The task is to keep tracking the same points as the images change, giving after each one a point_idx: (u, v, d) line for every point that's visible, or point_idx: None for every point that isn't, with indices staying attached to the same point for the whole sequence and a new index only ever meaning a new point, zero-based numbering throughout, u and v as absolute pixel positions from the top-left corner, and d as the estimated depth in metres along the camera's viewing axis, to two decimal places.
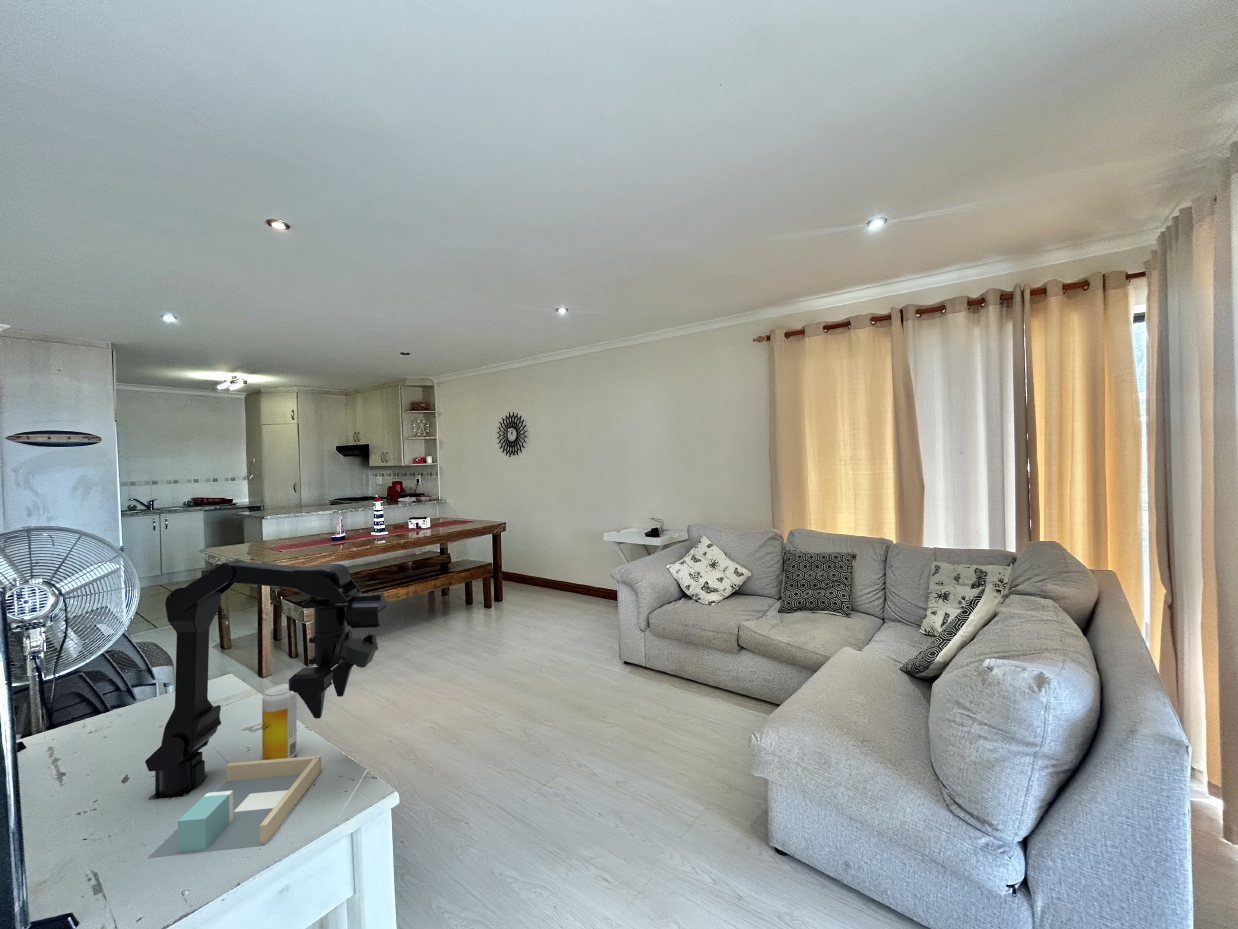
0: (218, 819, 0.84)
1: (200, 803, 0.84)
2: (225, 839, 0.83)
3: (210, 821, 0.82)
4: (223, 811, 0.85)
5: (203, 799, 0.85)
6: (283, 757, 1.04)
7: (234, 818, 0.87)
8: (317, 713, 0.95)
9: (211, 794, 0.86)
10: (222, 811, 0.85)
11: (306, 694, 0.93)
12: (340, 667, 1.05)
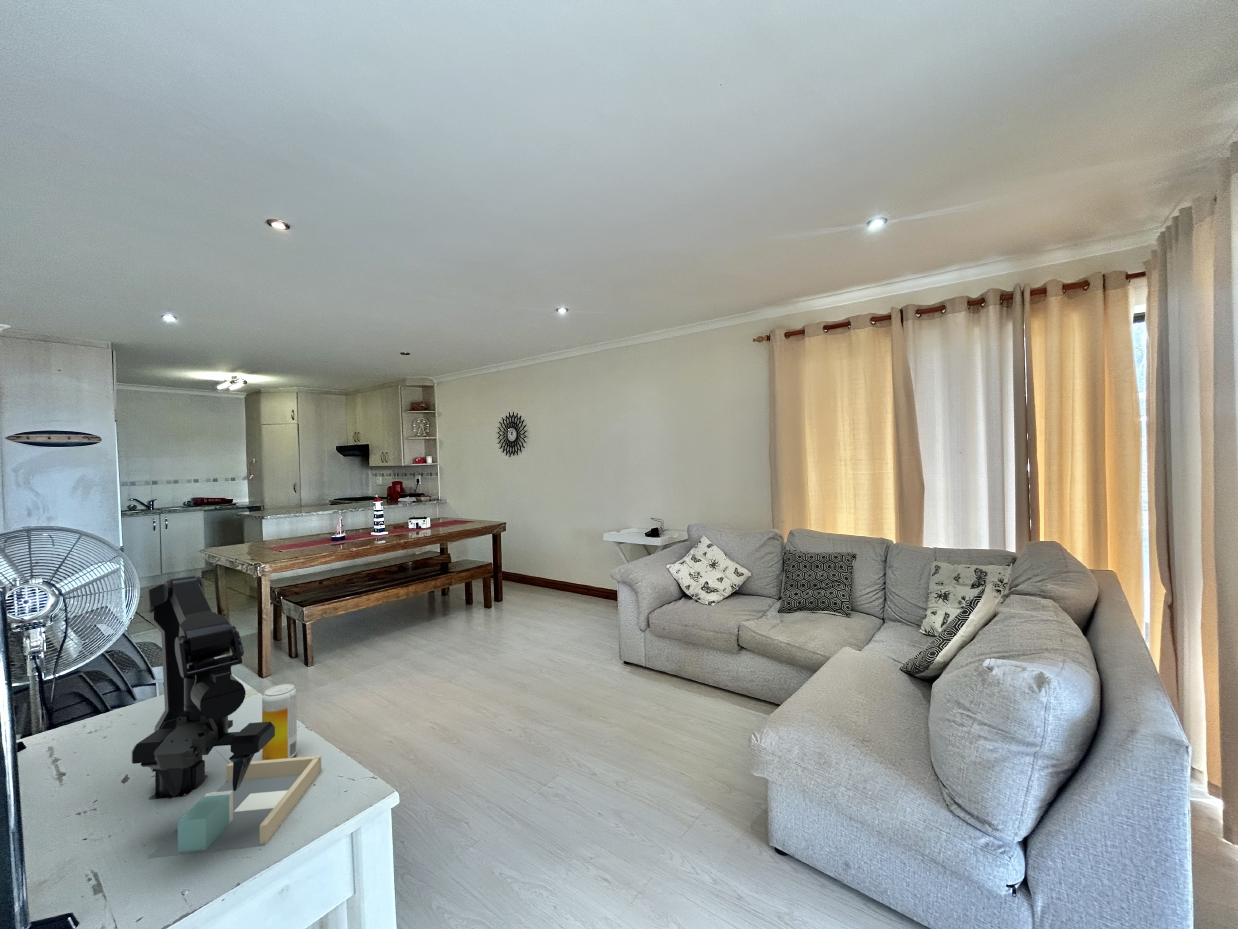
0: (218, 819, 0.84)
1: (200, 803, 0.84)
2: (225, 839, 0.83)
3: (210, 821, 0.82)
4: (223, 811, 0.85)
5: (203, 799, 0.85)
6: (283, 757, 1.04)
7: (234, 818, 0.87)
8: None
9: (211, 794, 0.86)
10: (222, 811, 0.85)
11: None
12: None
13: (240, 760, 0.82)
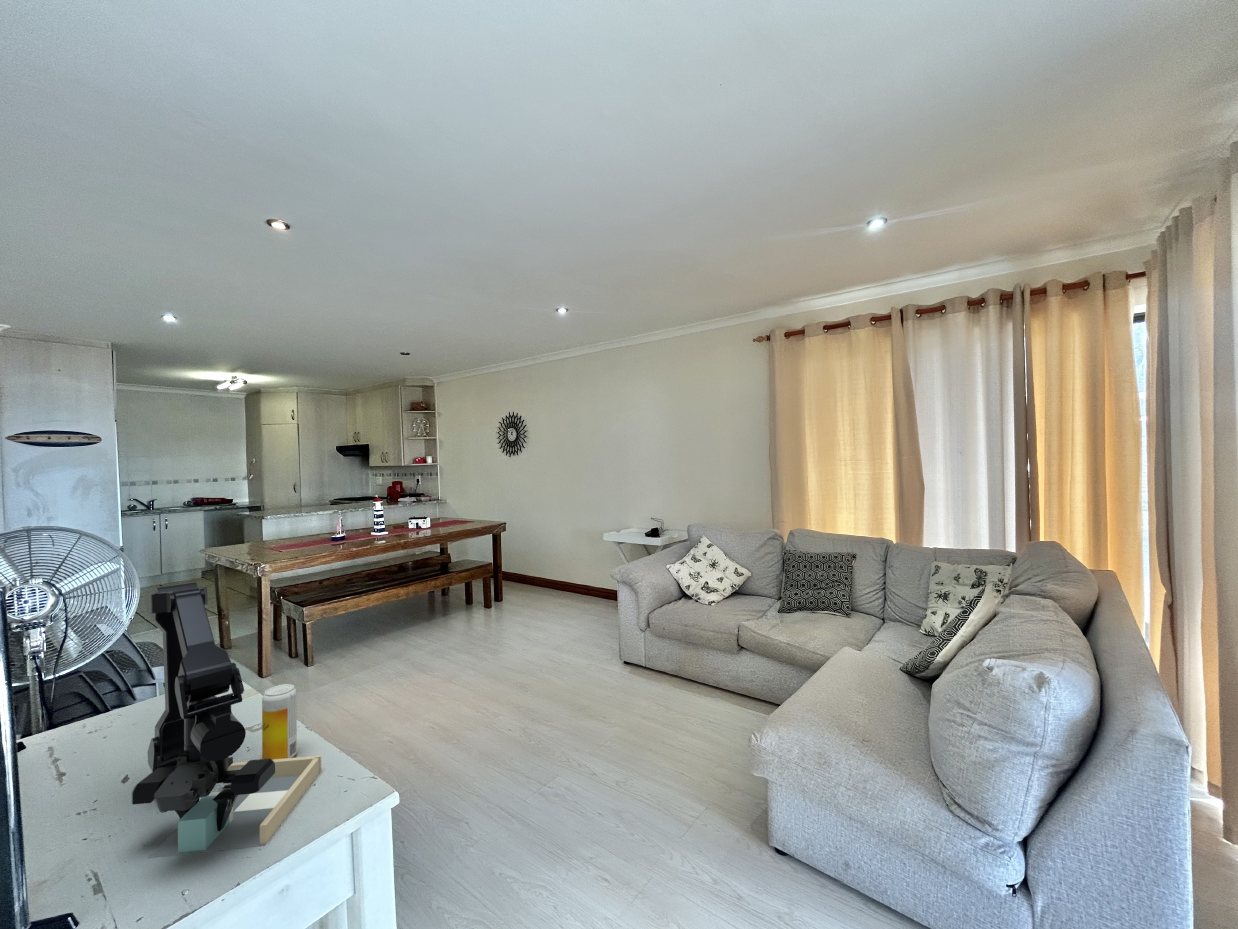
0: None
1: (200, 803, 0.84)
2: (225, 839, 0.83)
3: (210, 821, 0.82)
4: None
5: (203, 799, 0.85)
6: (283, 757, 1.04)
7: (234, 818, 0.87)
8: None
9: (211, 794, 0.86)
10: None
11: None
12: None
13: (224, 801, 0.82)
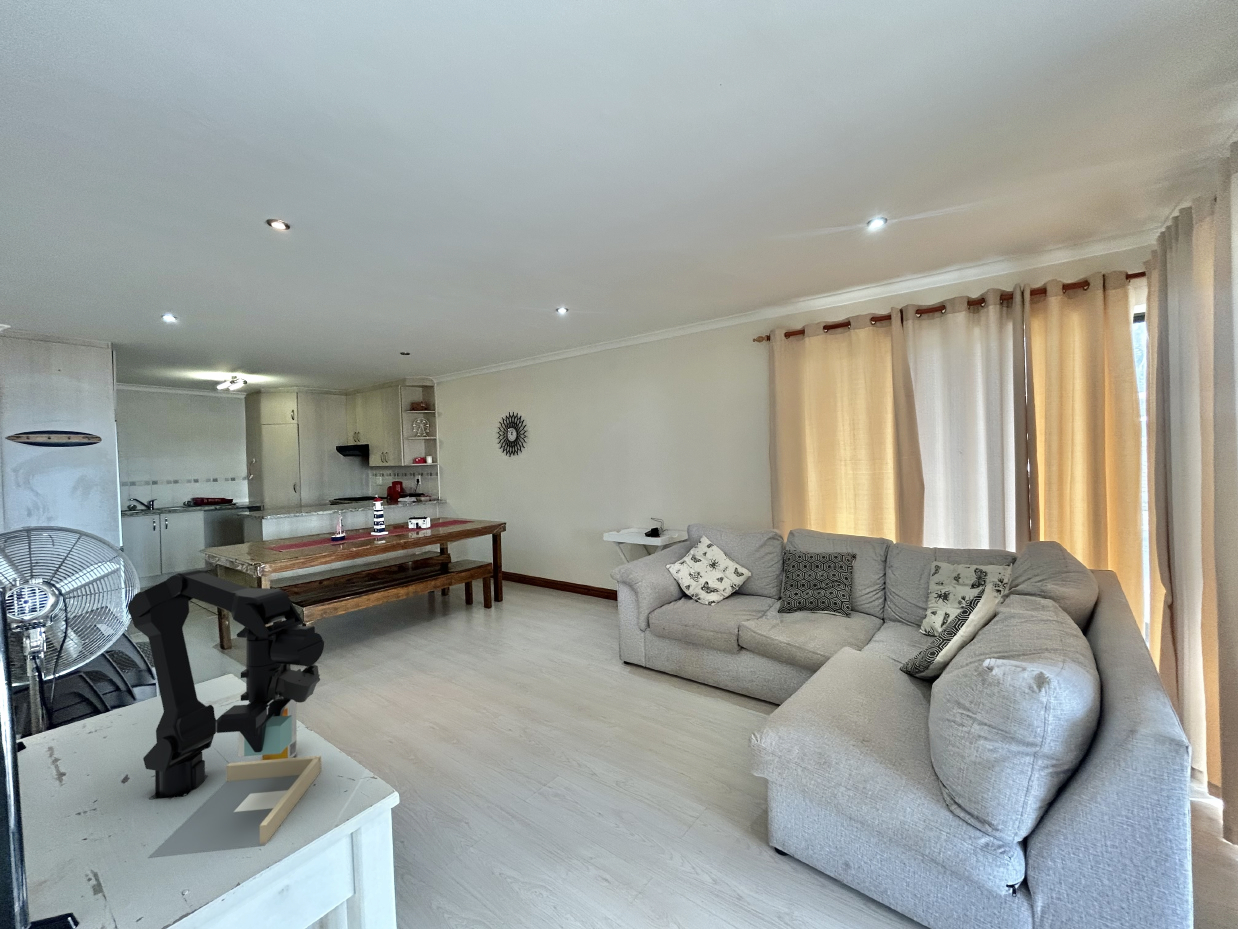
0: None
1: None
2: (225, 839, 0.83)
3: None
4: None
5: None
6: (283, 757, 1.04)
7: (234, 818, 0.87)
8: (257, 746, 0.90)
9: None
10: None
11: None
12: (271, 707, 0.95)
13: None
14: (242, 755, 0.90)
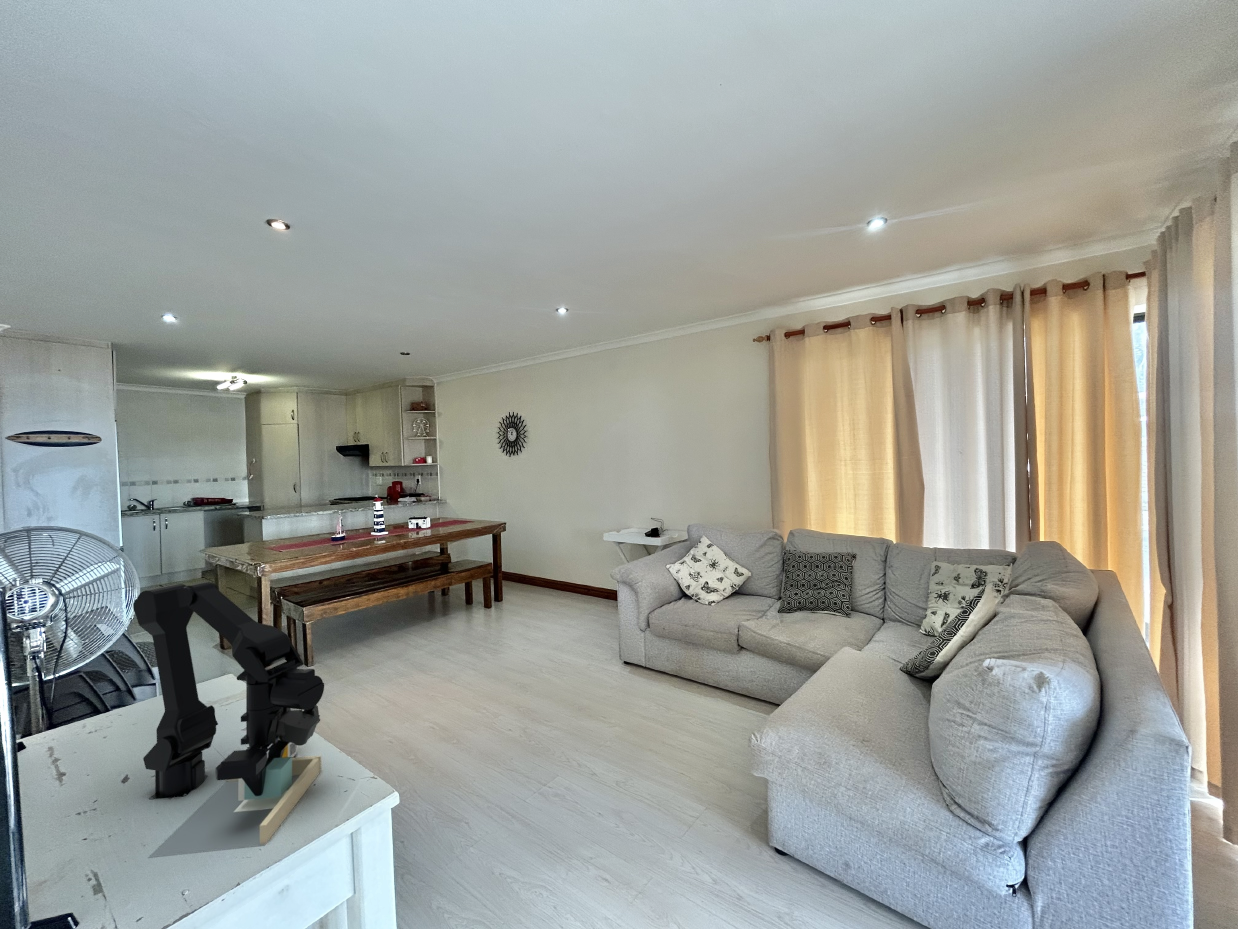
0: None
1: None
2: (225, 839, 0.83)
3: None
4: None
5: None
6: None
7: (234, 818, 0.87)
8: (257, 790, 0.90)
9: None
10: None
11: None
12: (271, 748, 0.95)
13: None
14: (242, 799, 0.90)
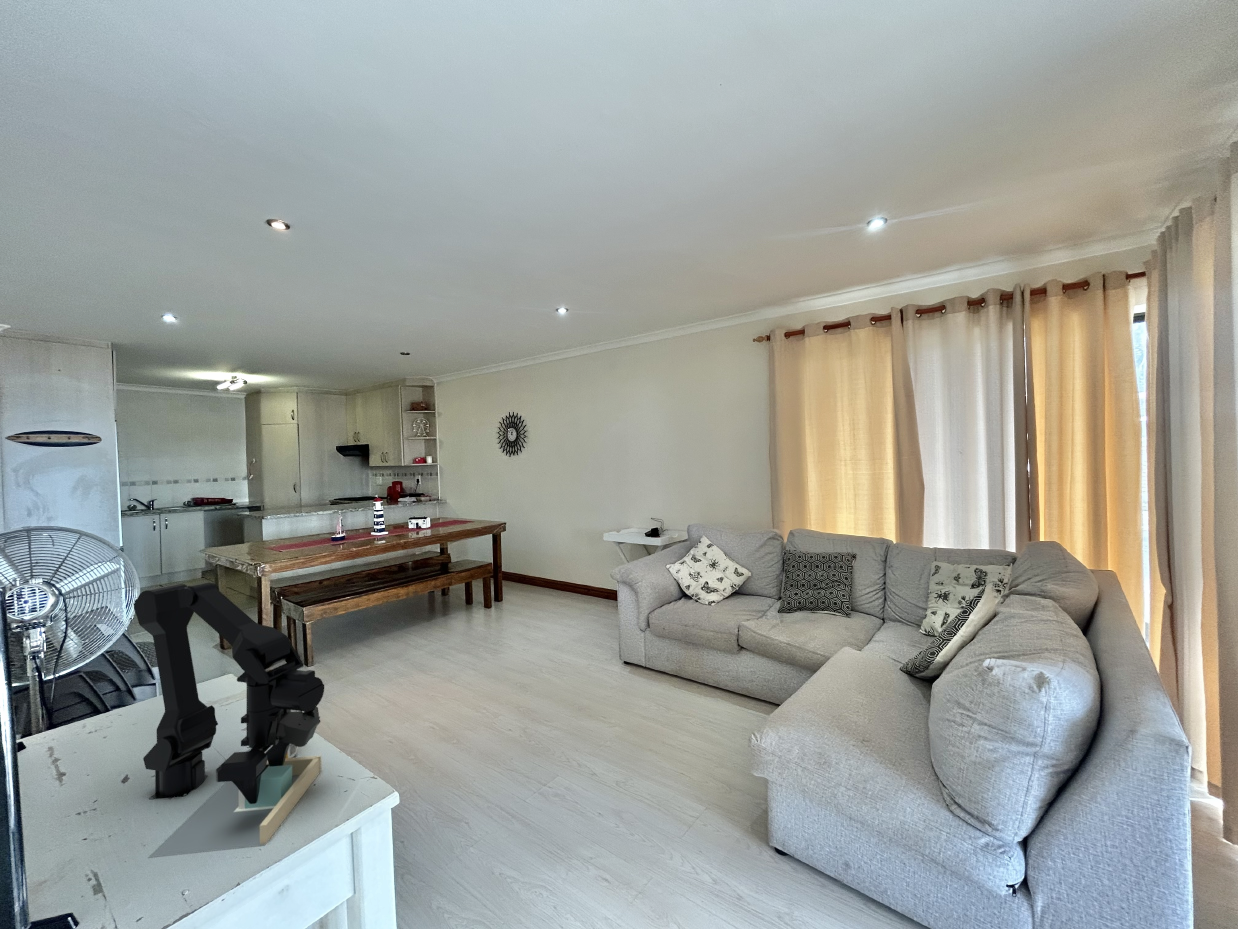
0: None
1: None
2: (225, 839, 0.83)
3: None
4: None
5: None
6: None
7: (234, 818, 0.87)
8: (252, 798, 0.88)
9: None
10: None
11: (240, 779, 0.87)
12: (276, 745, 0.96)
13: None
14: (242, 807, 0.90)
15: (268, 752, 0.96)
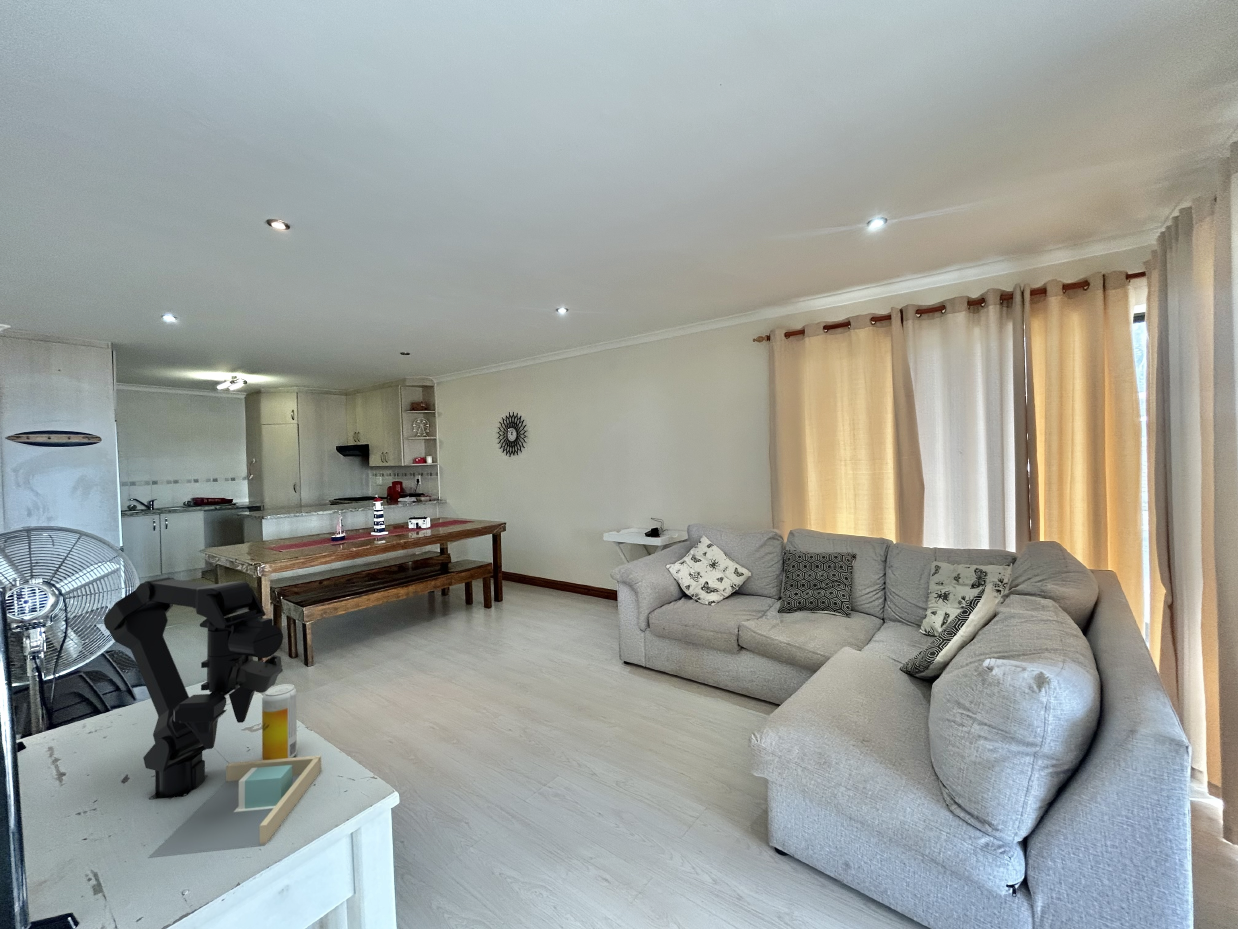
0: None
1: (258, 777, 0.91)
2: (225, 839, 0.83)
3: None
4: None
5: (251, 778, 0.91)
6: (283, 757, 1.04)
7: (234, 818, 0.87)
8: (208, 743, 0.88)
9: (245, 777, 0.91)
10: None
11: (195, 724, 0.87)
12: (241, 691, 0.98)
13: None
14: (242, 807, 0.90)
15: (233, 698, 0.98)
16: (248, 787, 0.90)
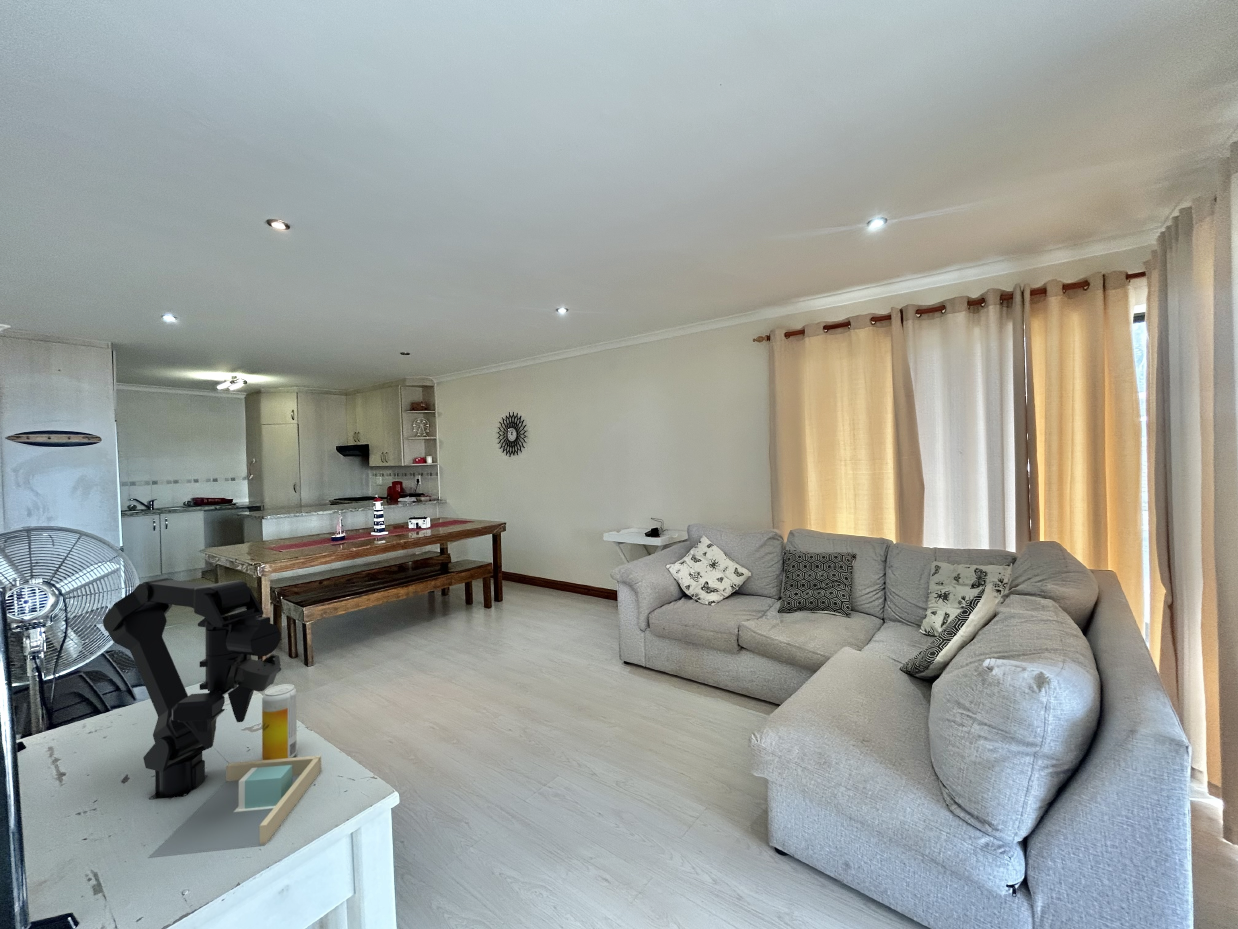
0: None
1: (258, 777, 0.91)
2: (225, 839, 0.83)
3: None
4: None
5: (251, 778, 0.91)
6: (283, 757, 1.04)
7: (234, 818, 0.87)
8: (207, 742, 0.88)
9: (245, 777, 0.91)
10: None
11: (194, 723, 0.87)
12: (240, 691, 0.98)
13: None
14: (242, 807, 0.90)
15: (232, 698, 0.98)
16: (248, 787, 0.90)
